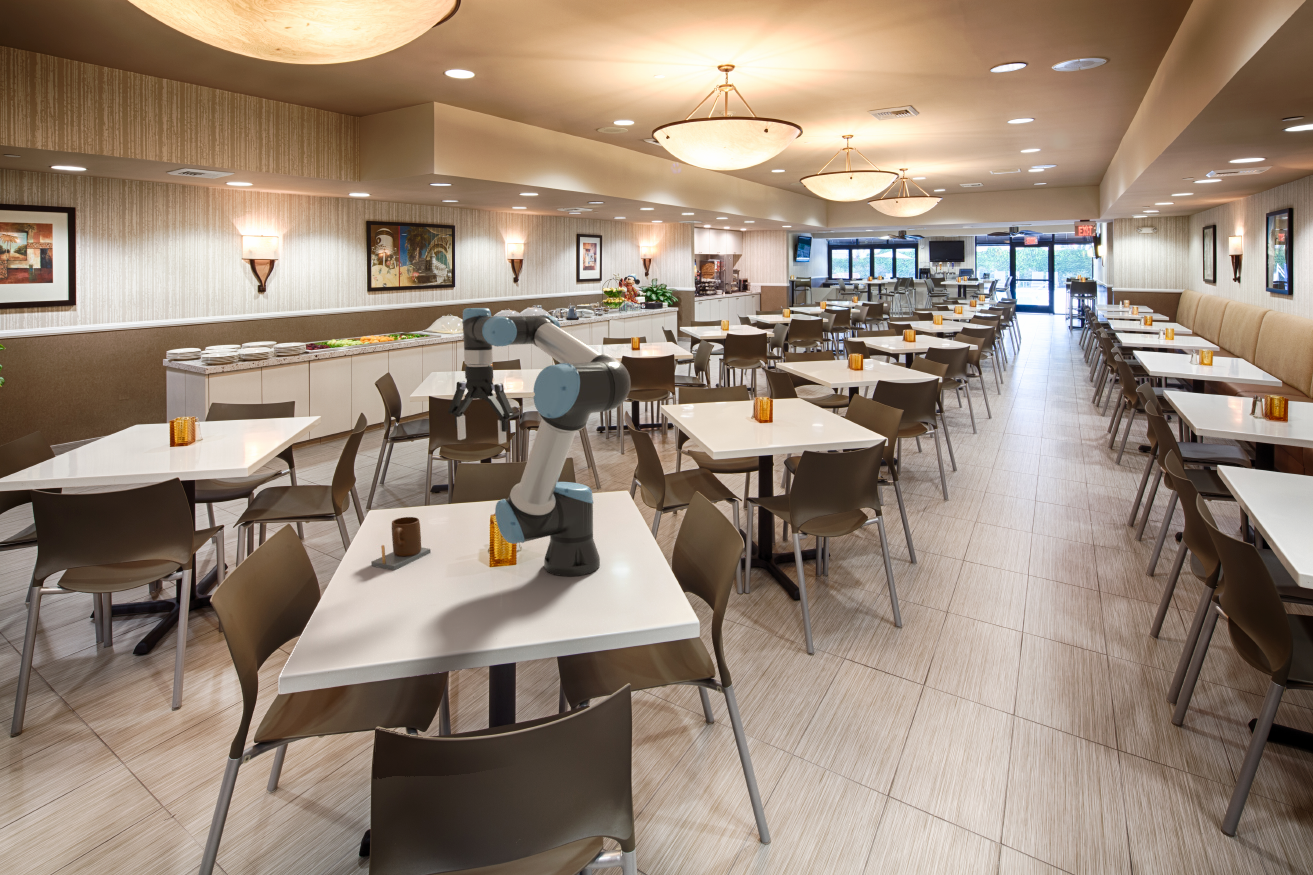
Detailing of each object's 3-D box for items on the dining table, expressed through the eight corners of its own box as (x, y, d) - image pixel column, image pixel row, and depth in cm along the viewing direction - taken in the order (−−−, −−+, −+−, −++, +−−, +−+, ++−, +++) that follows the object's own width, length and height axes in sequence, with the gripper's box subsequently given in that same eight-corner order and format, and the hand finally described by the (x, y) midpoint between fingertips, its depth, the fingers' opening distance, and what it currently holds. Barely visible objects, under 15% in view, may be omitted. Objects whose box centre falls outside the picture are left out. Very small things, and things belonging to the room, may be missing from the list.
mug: (410, 563, 198) (408, 530, 197) (382, 562, 199) (380, 529, 197) (425, 548, 210) (423, 516, 208) (399, 547, 210) (397, 516, 209)
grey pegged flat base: (430, 552, 210) (429, 532, 209) (394, 570, 197) (393, 548, 195) (408, 549, 213) (407, 528, 212) (371, 565, 200) (370, 544, 198)
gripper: (525, 365, 199) (527, 442, 203) (450, 362, 208) (453, 435, 212) (509, 368, 192) (512, 447, 196) (433, 364, 201) (437, 439, 206)
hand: (482, 441), depth 204 cm, fingers open, 13 cm apart
